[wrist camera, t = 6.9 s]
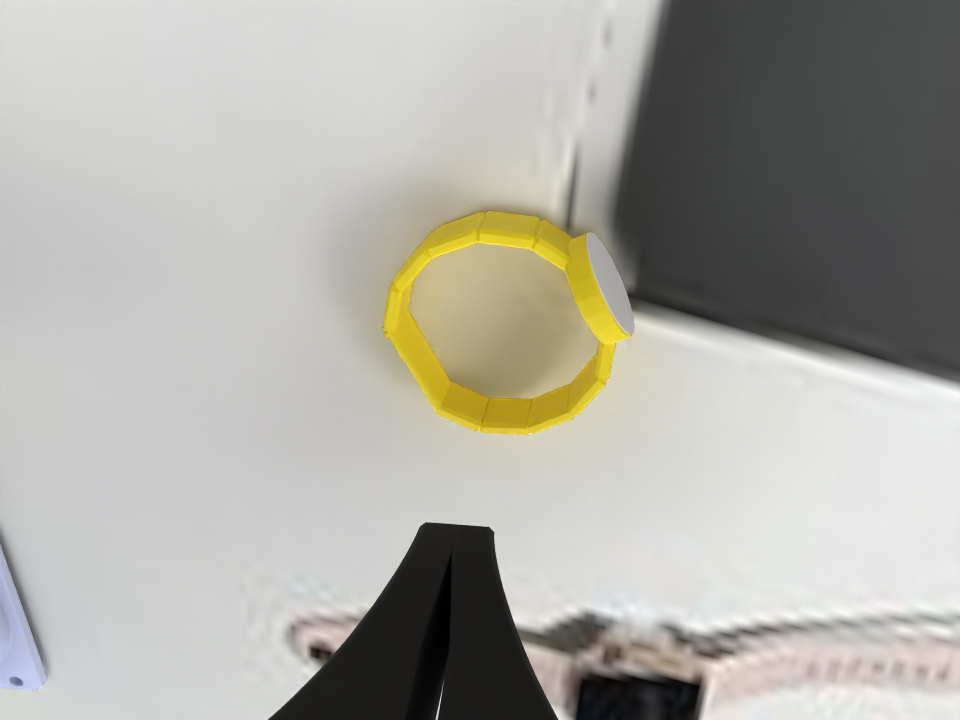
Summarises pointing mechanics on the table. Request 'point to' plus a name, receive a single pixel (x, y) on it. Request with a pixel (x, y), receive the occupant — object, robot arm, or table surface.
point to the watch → (592, 292)
